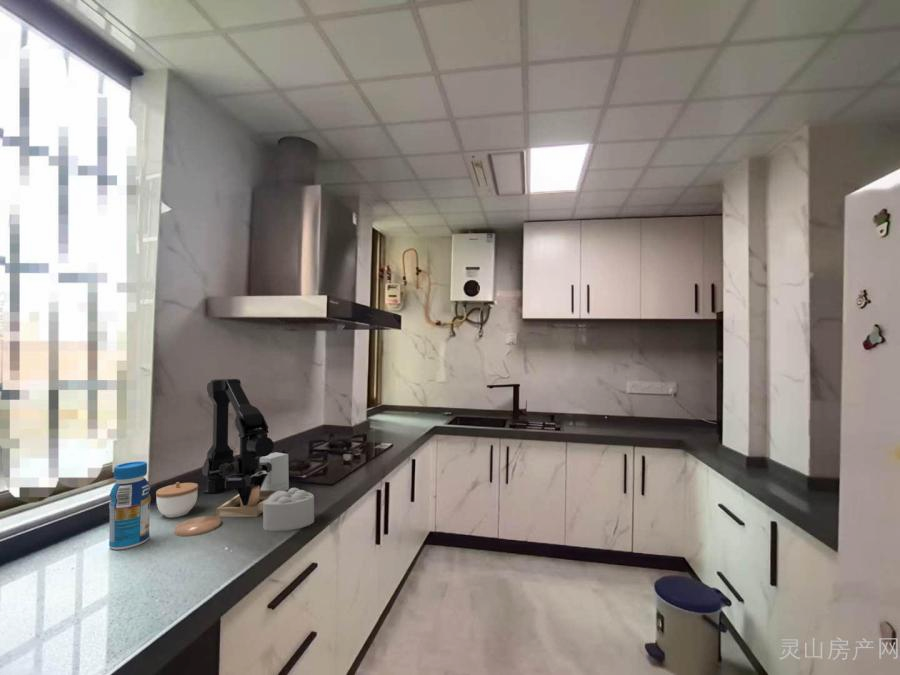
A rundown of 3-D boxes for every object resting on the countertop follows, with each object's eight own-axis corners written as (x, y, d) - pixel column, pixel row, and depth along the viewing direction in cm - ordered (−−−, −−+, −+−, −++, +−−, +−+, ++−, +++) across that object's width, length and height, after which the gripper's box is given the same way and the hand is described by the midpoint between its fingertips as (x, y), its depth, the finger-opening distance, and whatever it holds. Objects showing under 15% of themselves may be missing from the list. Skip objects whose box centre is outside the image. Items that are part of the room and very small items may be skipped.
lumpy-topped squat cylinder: (274, 516, 120) (274, 486, 120) (318, 514, 121) (318, 485, 121) (259, 531, 110) (259, 499, 110) (308, 529, 110) (307, 497, 111)
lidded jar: (148, 517, 122) (148, 485, 122) (185, 505, 131) (185, 475, 131) (168, 523, 117) (168, 490, 117) (205, 510, 126) (205, 479, 126)
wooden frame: (243, 498, 136) (243, 490, 136) (279, 497, 136) (279, 490, 136) (216, 517, 120) (216, 508, 120) (256, 516, 120) (256, 507, 120)
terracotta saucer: (191, 519, 119) (191, 516, 119) (228, 519, 119) (228, 515, 119) (164, 536, 108) (164, 532, 108) (206, 535, 108) (206, 531, 108)
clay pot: (245, 503, 131) (245, 484, 131) (262, 503, 131) (262, 484, 131) (236, 510, 125) (236, 490, 126) (254, 510, 125) (254, 490, 126)
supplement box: (289, 489, 144) (289, 453, 145) (270, 496, 138) (270, 458, 139) (276, 486, 148) (276, 451, 149) (257, 492, 142) (257, 456, 143)
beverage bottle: (100, 547, 102) (101, 467, 103) (136, 534, 110) (138, 459, 111) (121, 553, 99) (123, 470, 100) (157, 538, 107) (158, 461, 107)
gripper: (239, 446, 138) (239, 492, 138) (207, 460, 120) (206, 514, 119) (272, 445, 138) (272, 491, 138) (244, 459, 120) (244, 513, 119)
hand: (249, 501), depth 128 cm, fingers closed on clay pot, 5 cm apart
